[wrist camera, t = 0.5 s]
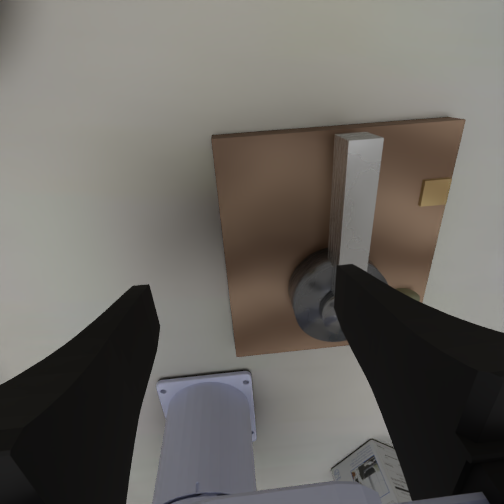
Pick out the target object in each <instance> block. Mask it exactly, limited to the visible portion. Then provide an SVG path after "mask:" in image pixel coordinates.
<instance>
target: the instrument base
mask: <svg viewBox="0 0 504 504" xmlns="http://www.w3.org/2000/svg"><path fill="white" fill-rule="evenodd" d="M464 124H465V119H458V118H452V117H442V118H429V119H416V120H403V121H390V122H377V123H364V124H351V125H338V126H325V127H312V128H298V129H285V130H272V131H259V132H246V133H233V134H220V135H212V139H211V140H212V149H213V157H214V166H215V175H216V183H217V192H218V201H219V209H220V218H221V227H222V235H223V244H224V253H225V261H226V270H227V279H228V287H229V296H230V304H231V313H232V322H233V330H234V339H235V348H236V356H237V357H242V356H251V355H261V354H270V353H279V352H289V351H298V350H308V349H317V348H326V347H336V346H345V345H349V343H348V341H347V340H346V341H340V342H327V341H321V340H318V339H315V338H313V337H311V336H309V335H308V334H306V333H305V332H304V331H303V330H302V329H301V328H300V326H299V325H298V323H297V320H296V317H295V314H294V311H293V308H292V304H291V301H290V298H289V293H288V286H289V281H290V278H291V275H292V274H293V272H294V270H295V269H296V267H297V266H298V265H299V264H300V263H301V262H302V261H303V260H304V259H305V258H306V257H308V256H309V255H311V254H313V253H314V252H316V251H319V250H321V249H325V248H328V242H329V225H330V208H331V191H332V174H333V157H334V139H335V134H345V133H358V132H368V133H371V134H374V135H377V136H380V137H383V138H384V142H383V150H382V157H381V165H380V173H379V181H378V189H377V197H376V204H375V212H374V220H373V228H372V236H371V243H370V251H369V260H370V261H371V262H372V263H373V264H374V266H375V267H376V268H377V269H378V270H379V272H380V273H381V274H382V275H383V276H384V278H385V279H386V281H387V283H388V285H389V286H391V287H393V288H394V289H396V290H398V291H400V292H402V293H403V294H405V295H407V296H409V297H411V298H413V299H415V300H417V301H419V302H421V303H422V302H423V297H424V293H425V289H426V285H427V281H428V276H429V272H430V268H431V264H432V259H433V255H434V251H435V247H436V243H437V238H438V234H439V230H440V226H441V221H442V217H443V213H444V209H445V205H446V202H447V197H448V193H449V189H450V185H451V181H452V175H453V171H454V167H455V162H456V158H457V154H458V150H459V145H460V141H461V137H462V133H463V129H464Z"/></svg>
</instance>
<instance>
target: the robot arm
mask: <svg viewBox="0 0 504 504" xmlns="http://www.w3.org/2000/svg"><path fill="white" fill-rule="evenodd" d="M334 310H335V313H336V316H337V319H338V321H339V324H340V327H341V330H342V332H343V334H344V336H345V338H346V340H347V341H348V343H349V345H350V347H351V349H352V351H353V353H354V355H355V357H356V359H357V361H358V363H359V364H360V366H361V368H362V370H363V372H364V374H365V376H366V378H367V380H368V382H369V384H370V386H371V388H372V391H373V393H374V396H375V398H376V401H377V403H378V406H379V408H380V411H381V413H382V416H383V419H384V421H385V424H386V427H387V430H388V432H389V435H390V438H391V440H392V443H393V446H394V449H395V452H396V455H397V457H398V460H399V463H400V466H401V469H402V472H403V475H404V478H405V481H406V484H407V487H408V490H409V493H410V497H411V500H412V501H409V502H401V503H394V504H504V333H502V332H498V331H495V330H492V329H488V328H485V327H482V326H479V325H476V324H473V323H470V322H467V321H465V320H462V319H459V318H456V317H454V316H451V315H448V314H446V313H444V312H441V311H439V310H437V309H434V308H432V307H430V306H427V305H425V304H423V303H421V302H419V301H417V300H415V299H413V298H411V297H409V296H407V295H405V294H403V293H402V292H400V291H398V290H396V289H394V288H393V287H391V286H389V285H388V284H386V283H384V282H382V281H381V280H379V279H377V278H376V277H374V276H372V275H371V274H369V273H368V272H366V271H364V270H363V269H361V268H359V267H357V266H356V265H354V264H345V265H337V268H336V283H335V298H334ZM159 332H160V324H159V320H158V316H157V312H156V309H155V305H154V301H153V297H152V293H151V290H150V286H149V284H148V285H138V286H132V287H131V288H130V289H129V290H128V291H126V292H125V293H124V294H123V295H122V296H121V297H120V298H119V299H118V300H117V301H116V302H115V303H113V304H112V305H111V306H110V307H109V308H108V309H107V310H106V311H105V312H104V313H103V314H101V315H100V316H99V317H98V318H97V319H96V320H95V321H93V322H92V323H91V324H90V325H89V326H87V327H86V328H85V329H84V330H83V331H81V332H80V333H79V334H78V335H77V336H75V337H74V338H73V339H72V340H70V341H69V342H68V343H66V344H65V345H63V346H62V347H61V348H59V349H58V350H56V351H55V352H54V353H52V354H51V355H49V356H48V357H46V358H45V359H43V360H42V361H40V362H38V363H37V364H35V365H34V366H32V367H30V368H29V369H27V370H25V371H24V372H22V373H21V374H19V375H17V376H16V377H14V378H12V379H10V380H9V381H7V382H5V383H3V384H1V385H0V504H126V499H127V491H128V484H129V476H130V469H131V462H132V456H133V449H134V443H135V437H136V431H137V425H138V419H139V415H140V410H141V406H142V402H143V399H144V395H145V392H146V388H147V384H148V381H149V377H150V374H151V370H152V367H153V363H154V359H155V356H156V352H157V347H158V340H159ZM245 380H247V381H245ZM156 389H157V392H158V395H159V399H160V402H161V405H162V409H163V412H164V415H165V419H166V424H165V430H164V436H163V442H162V448H161V454H160V460H159V466H158V472H157V478H156V484H155V490H154V496H153V502H152V504H382V501H381V499H380V496H379V494H378V492H376V491H375V490H373V489H371V488H369V487H367V486H365V485H362V484H360V483H358V482H355V481H330V482H322V483H314V484H307V485H299V486H291V487H283V488H276V489H268V490H260V491H257V490H256V478H255V466H254V455H253V443H252V442H253V441H255V440H256V439H257V435H256V424H255V412H254V401H253V390H252V379H251V373H250V372H249V371H239V372H230V373H221V374H212V375H203V376H193V377H184V378H175V379H166V380H160V381H158V382H157V385H156ZM163 389H164V390H163Z"/></svg>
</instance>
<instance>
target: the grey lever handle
mask: <svg viewBox="0 0 504 504" xmlns="http://www.w3.org/2000/svg"><path fill="white" fill-rule="evenodd" d="M383 142H384V138H383V137H380V136H377V135H374V134H371V133H368V132H358V133H345V134H335V139H334V157H333V174H332V191H331V208H330V225H329V242H328V248H325V249H321V250H319V251H316V252H314V253H313V254H311V255H309V256H308V257H306V258H305V259H304V260H303V261H302V262H301V263H300V264H299V265H298V266H297V267H296V269H295V270H294V272H293V274H292V275H291V278H290V281H289V286H288V293H289V298H290V301H291V304H292V308H293V311H294V314H295V317H296V320H297V323H298V325H299V326H300V328H301V329H302V330H303V331H304V332H305V333H306V334H308V335H309V336H311V337H313V338H315V339H318V340H321V341H327V342H340V341H346V338H345V336H344V334H343V332H342V330H341V327H340V324H339V321H338V319H337V316H336V313H335V310H334V298H335V283H336V268H337V265H345V264H354V265H356V266H357V267H359V268H361V269H363V270H364V271H366V272H368V273H369V274H371V275H372V276H374V277H376V278H377V279H379V280H381V281H382V282H384V283H386V284H388V283H387V281H386V279H385V278H384V276H383V275H382V274H381V273H380V272H379V270H378V269H377V268H376V267H375V266H374V264H373V263H372V262H371V261H370V260H369V251H370V243H371V236H372V228H373V220H374V212H375V204H376V197H377V189H378V181H379V173H380V165H381V157H382V150H383Z"/></svg>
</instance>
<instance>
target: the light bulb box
mask: <svg viewBox="0 0 504 504" xmlns="http://www.w3.org/2000/svg"><path fill="white" fill-rule="evenodd" d="M331 471H332V475H333V478H334V481H355V482H358V483H360V484H362V485H365V486H367V487H369V488H371V489H373V490H375V491H376V492H378V494H379V496H380V499H381V501H382V504H394V503H401V502H409V501H412V500H411V497H410V493H409V490H408V487H407V484H406V481H405V478H404V475H403V472H402V469H401V466H400V463H399V460H398V457H397V455H396V452H395V449H393V448H391V447H388V446H386V445H384V444H381V443H379V442H377V441H374V440H370V441H369V442H367V443H366V444H365V445H363V446H362V447H361V448H359V449H358V450H357V451H356V452H354V453H353V454H352V455H350V456H349V457H348V458H346V459H345V460H344V461H342V462H341V463H340V464H338V465H337V466H336V467H334V468H333V469H332V470H331Z"/></svg>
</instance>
